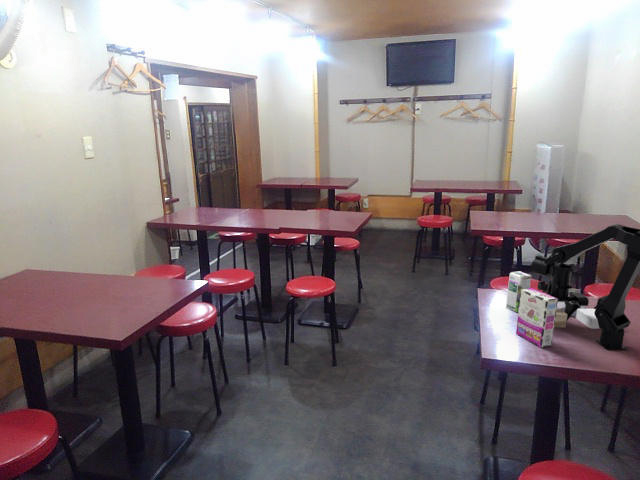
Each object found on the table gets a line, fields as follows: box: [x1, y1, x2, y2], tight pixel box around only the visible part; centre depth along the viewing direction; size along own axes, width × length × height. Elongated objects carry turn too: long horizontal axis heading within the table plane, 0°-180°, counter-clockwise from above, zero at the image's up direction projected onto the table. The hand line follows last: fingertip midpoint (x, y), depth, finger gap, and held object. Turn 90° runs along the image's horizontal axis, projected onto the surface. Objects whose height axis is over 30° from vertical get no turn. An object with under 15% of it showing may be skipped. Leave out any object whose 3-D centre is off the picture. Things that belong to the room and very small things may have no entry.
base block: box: [575, 308, 601, 330], centre depth 162 cm, size 9×9×4 cm
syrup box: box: [505, 271, 532, 313], centre depth 173 cm, size 6×6×14 cm
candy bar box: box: [515, 287, 558, 349], centre depth 148 cm, size 11×5×16 cm, turn 21°
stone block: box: [557, 302, 587, 317], centre depth 173 cm, size 12×5×10 cm
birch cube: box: [554, 309, 568, 328], centre depth 161 cm, size 5×5×5 cm
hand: (555, 321), depth 161 cm, fingers open, 6 cm apart
